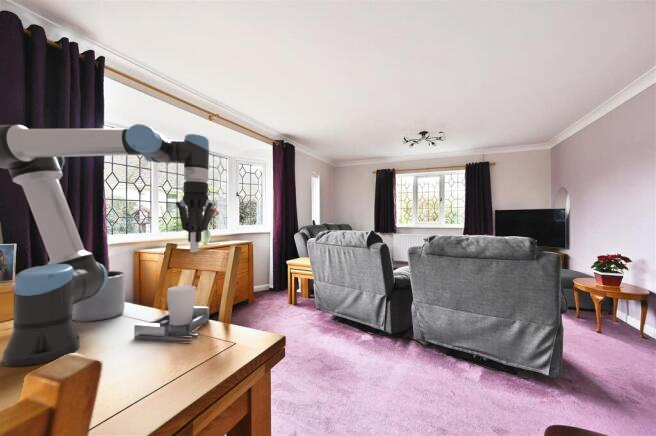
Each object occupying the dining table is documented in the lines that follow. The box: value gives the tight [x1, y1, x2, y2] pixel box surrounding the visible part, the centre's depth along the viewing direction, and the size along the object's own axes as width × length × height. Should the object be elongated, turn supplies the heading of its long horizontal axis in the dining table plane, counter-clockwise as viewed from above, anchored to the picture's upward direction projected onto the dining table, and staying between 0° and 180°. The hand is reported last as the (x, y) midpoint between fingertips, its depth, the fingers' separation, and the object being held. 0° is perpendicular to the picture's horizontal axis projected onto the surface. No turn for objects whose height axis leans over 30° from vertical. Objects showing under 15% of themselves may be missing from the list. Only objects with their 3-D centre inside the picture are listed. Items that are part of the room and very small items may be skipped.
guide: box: [134, 332, 200, 343], centre depth 93 cm, size 18×5×1 cm, turn 84°
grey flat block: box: [133, 320, 170, 339], centre depth 93 cm, size 10×2×5 cm, turn 84°
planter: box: [72, 270, 126, 323], centre depth 112 cm, size 16×16×16 cm
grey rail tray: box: [148, 305, 210, 333], centre depth 103 cm, size 14×14×5 cm
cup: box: [166, 284, 197, 326], centre depth 103 cm, size 9×9×12 cm
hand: (194, 251), depth 100 cm, fingers closed
